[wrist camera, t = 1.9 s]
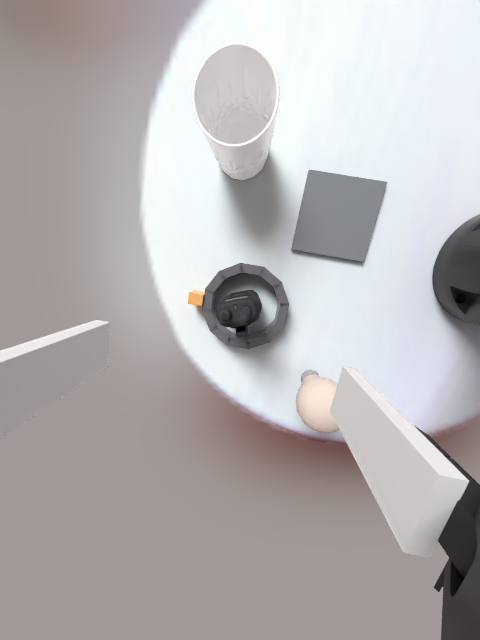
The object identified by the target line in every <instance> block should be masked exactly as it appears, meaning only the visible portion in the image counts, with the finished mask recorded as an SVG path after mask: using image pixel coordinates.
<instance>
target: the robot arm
mask: <svg viewBox="0 0 480 640" xmlns="http://www.w3.org/2000/svg"><path fill="white" fill-rule="evenodd" d="M433 285H434V290H435V293H436V296H437V298H438V300H439V302H440V303H441V305H442V306H443V307H444V308H445V309H446V310H447V311H448V312H449V313H450V314H452V315H453V316H455V317H457V318H459V319H461V320H464V321H468V322H472V323H476V324H480V214H479V215H477V216H475V217H473V218H472V219H470V220H468V221H467V222H465V223H464V224H463V225H461V226H460V227H459V228H458V229H457V230H456V231H455V232H454V233H453V234H452V235H451V236H450V237H449V238H448V240H447V241H446V242H445V244H444V245H443V247H442V249H441V250H440V252H439V254H438V257H437V259H436V262H435V266H434V272H433ZM109 326H110V323H109V322H105V321H99V320H95V321H92V322H89V323H85V324H83V325H79V326H76V327H73V328H70V329H67V330H64V331H60V332H57V333H54V334H51V335H48V336H45V337H42V338H39V339H36V340H32V341H29V342H26V343H23V344H20V345H17V346H14V347H11V348H8V349H5V350H1V351H0V438H2V437H3V436H5V435H6V434H8V433H9V432H11V431H12V430H14V429H15V428H17V427H18V426H20V425H21V424H23V423H24V422H26V421H28V420H29V419H30V418H32V417H34V416H35V415H36V414H38V413H40V412H41V411H43V410H44V409H46V408H47V407H49V406H50V405H52V404H53V403H55V402H56V401H58V400H59V399H61V398H62V397H64V396H65V395H67V394H68V393H70V392H71V391H73V390H74V389H76V388H77V387H79V386H80V385H82V384H83V383H85V382H86V381H88V380H89V379H91V378H92V377H94V376H95V375H97V374H98V373H100V372H101V371H103V370H104V369H106V368H107V367H108V352H109ZM330 412H331V414H332V416H333V418H334V419H335V421H336V423H337V425H338V427H339V429H340V431H341V433H342V435H343V437H344V439H345V441H346V443H347V445H348V447H349V448H350V450H351V452H352V454H353V456H354V458H355V460H356V462H357V464H358V466H359V468H360V469H361V472H362V473H363V476H364V477H365V479H366V481H367V483H368V485H369V487H370V489H371V491H372V493H373V495H374V496H375V499H376V501H377V502H378V505H379V507H380V508H381V510H382V512H383V514H384V516H385V518H386V520H387V522H388V524H389V526H390V528H391V530H392V532H393V533H394V536H395V537H396V539H397V541H398V543H399V545H400V547H401V549H402V551H403V552H404V553H408V554H413V555H418V556H422V557H427V558H431V556H432V554H433V552H434V550H435V548H436V546H437V544H438V542H439V543H440V544H441V546H442V547H443V549H444V550H445V552H446V553H447V555H448V556H449V560H448V561H447V563H446V565H445V567H444V569H443V571H442V573H441V575H440V576H439V579H438V580H437V582H436V584H435V586H434V588H435V589H436V590H437V591H438V592H439V591H440V589H441V587H443V609H442V631H441V640H480V485H479V484H478V483H477V482H476V481H475V480H474V479H473V478H472V477H471V476H470V475H469V474H468V473H467V472H466V471H464V469H463V468H462V467H461V466H460V465H459V464H458V463H456V462H455V461H454V460H453V459H451V458H450V456H449V455H448V454H447V453H446V452H445V451H444V450H443V449H441V448H440V446H439V445H438V444H437V443H436V442H435V441H434V440H433V439H432V438H431V437H430V436H428V435H427V434H426V433H424V432H423V431H421V430H420V429H418V428H417V427H416V426H414V425H413V424H412V423H411V422H410V421H409V420H408V419H407V418H406V417H405V416H404V415H403V414H402V413H401V412H400V411H399V410H398V409H397V408H396V407H395V406H394V405H393V404H392V403H391V402H390V401H389V400H388V399H387V398H386V397H385V396H384V395H383V394H382V393H381V392H380V391H379V390H378V389H377V388H376V387H375V386H374V385H373V384H372V383H371V382H370V381H369V380H368V379H367V378H366V377H365V376H364V375H363V374H362V373H361V372H360V371H359V370H358V369H354V368H349V367H343V369H342V372H341V375H340V379H339V382H338V385H337V388H336V392H335V395H334V398H333V402H332V405H331V408H330Z"/></svg>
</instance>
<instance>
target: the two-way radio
mask: <svg viewBox="0 0 480 640" xmlns="http://www.w3.org/2000/svg"><path fill="white" fill-rule="evenodd" d="M261 309H262V305H261V302H260V299H259V296H258V294H257V293H256V292H254V291H253V290H246V291H240V292H236V293H232V294H230V295H228V296H226V297H225V298H224V299H223V300H222V301H220V302H219V303H218V305H217V307H216V311H215V313H216V317H217V319H218V321H219V322H220V324H221V325H222V326H225V327H231V328H236V337H238V338H241V337H246V336H247V334H248V331H247V326H248V325H250V324H251V323H253V322H255V321H256V320H257V319H258V318H259V315H260V312H261Z"/></svg>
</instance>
